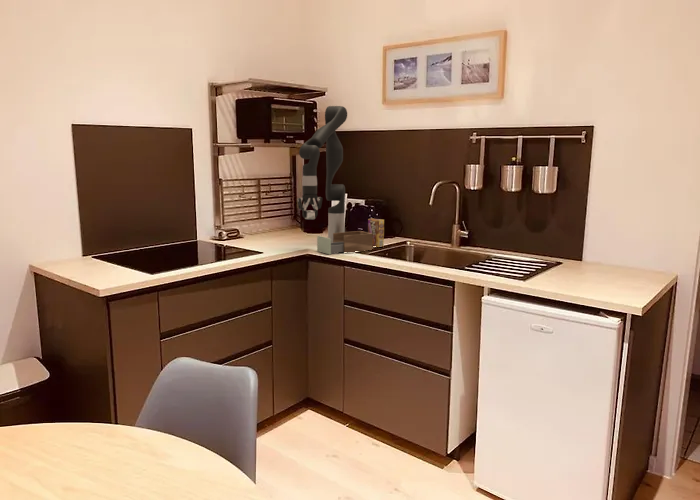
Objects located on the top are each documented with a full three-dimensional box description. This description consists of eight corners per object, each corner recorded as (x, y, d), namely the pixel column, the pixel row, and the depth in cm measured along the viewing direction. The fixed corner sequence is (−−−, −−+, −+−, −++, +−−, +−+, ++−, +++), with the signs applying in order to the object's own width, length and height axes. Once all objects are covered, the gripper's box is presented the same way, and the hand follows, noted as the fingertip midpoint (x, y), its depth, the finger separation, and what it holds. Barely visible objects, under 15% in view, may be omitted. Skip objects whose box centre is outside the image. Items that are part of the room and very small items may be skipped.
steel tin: (303, 218, 278) (303, 210, 277) (312, 217, 280) (312, 210, 280) (307, 219, 273) (307, 211, 272) (317, 219, 276) (316, 211, 275)
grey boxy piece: (317, 250, 276) (317, 235, 274) (344, 248, 284) (344, 233, 283) (329, 254, 265) (329, 238, 263) (357, 251, 273) (357, 236, 272)
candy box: (384, 247, 288) (384, 219, 286) (378, 248, 286) (378, 220, 283) (373, 245, 295) (373, 218, 293) (367, 246, 292) (367, 218, 290)
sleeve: (333, 250, 280) (333, 233, 278) (360, 247, 289) (360, 230, 287) (344, 253, 270) (344, 235, 269) (372, 250, 279) (372, 233, 277)
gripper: (318, 183, 280) (319, 216, 283) (293, 184, 273) (294, 217, 276) (325, 184, 274) (325, 217, 277) (300, 185, 267) (300, 219, 270)
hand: (310, 217), depth 276 cm, fingers closed on steel tin, 5 cm apart
